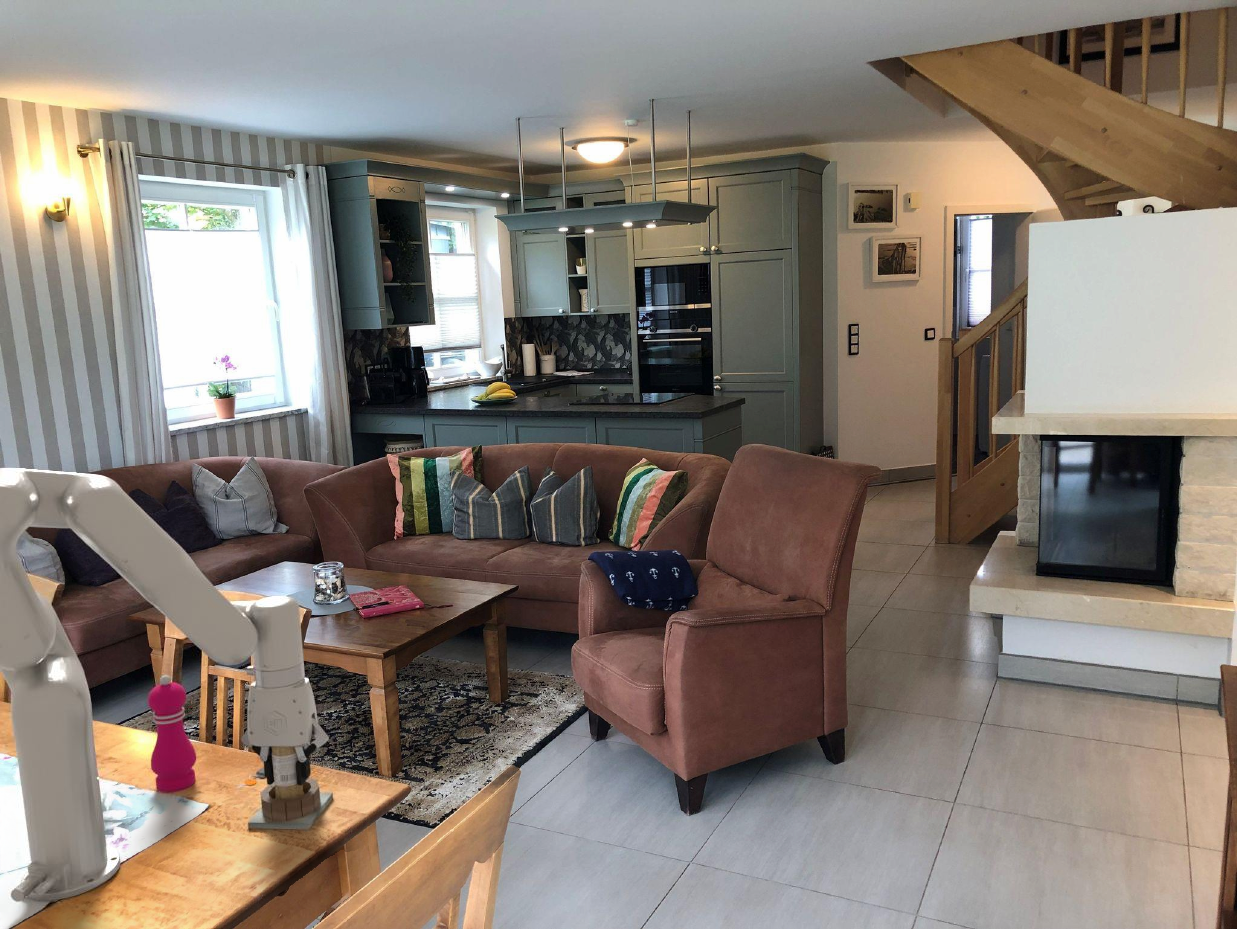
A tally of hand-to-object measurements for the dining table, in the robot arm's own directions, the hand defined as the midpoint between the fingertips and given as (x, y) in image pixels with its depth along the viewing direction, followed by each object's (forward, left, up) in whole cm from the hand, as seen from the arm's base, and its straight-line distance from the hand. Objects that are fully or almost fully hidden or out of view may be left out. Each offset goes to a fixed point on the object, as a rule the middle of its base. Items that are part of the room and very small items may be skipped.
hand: (288, 780), depth 154 cm
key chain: (+12, +11, -7) cm, 18 cm away
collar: (0, 0, -6) cm, 6 cm away
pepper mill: (+9, +25, -6) cm, 27 cm away
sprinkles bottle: (0, 0, -4) cm, 4 cm away
